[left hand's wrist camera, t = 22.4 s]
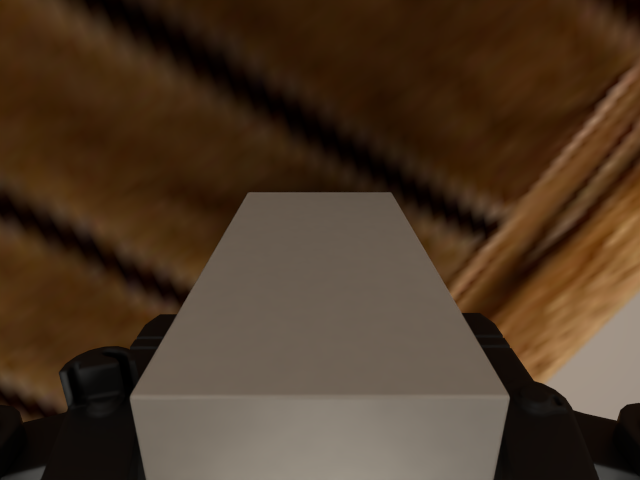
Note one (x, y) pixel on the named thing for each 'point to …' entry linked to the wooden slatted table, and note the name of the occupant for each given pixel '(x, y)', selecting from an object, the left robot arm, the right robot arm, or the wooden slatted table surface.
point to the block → (319, 356)
